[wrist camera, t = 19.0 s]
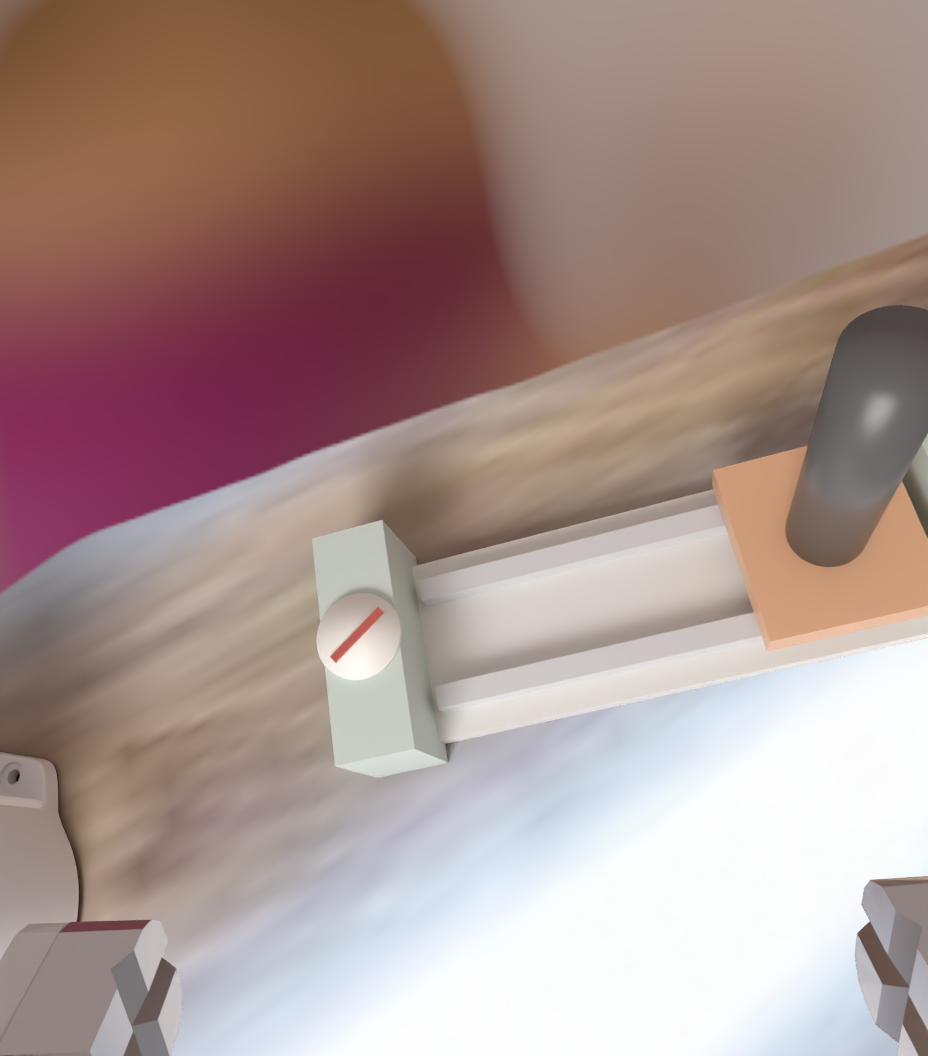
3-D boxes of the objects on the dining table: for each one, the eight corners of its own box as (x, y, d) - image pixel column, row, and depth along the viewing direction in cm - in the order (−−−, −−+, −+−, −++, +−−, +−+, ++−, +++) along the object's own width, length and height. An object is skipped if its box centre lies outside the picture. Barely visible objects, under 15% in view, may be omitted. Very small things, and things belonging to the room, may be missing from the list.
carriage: (766, 651, 39) (815, 518, 24) (712, 486, 43) (724, 280, 28) (942, 612, 38) (1110, 445, 23) (870, 445, 42) (974, 205, 27)
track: (374, 778, 45) (327, 765, 39) (349, 574, 50) (304, 536, 44) (1053, 632, 39) (1116, 592, 33) (950, 419, 44) (989, 352, 38)
